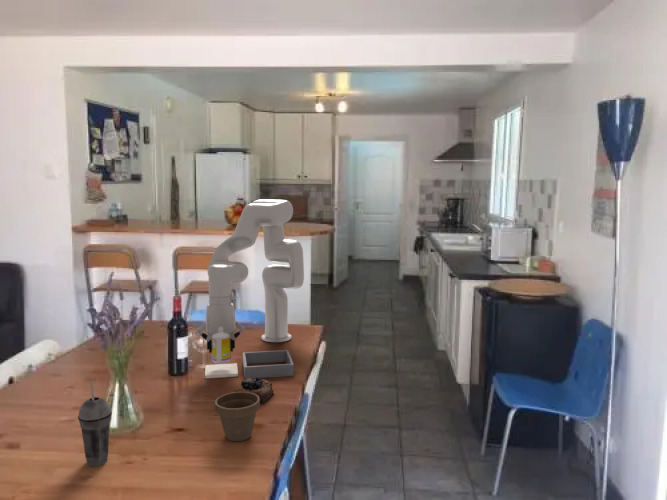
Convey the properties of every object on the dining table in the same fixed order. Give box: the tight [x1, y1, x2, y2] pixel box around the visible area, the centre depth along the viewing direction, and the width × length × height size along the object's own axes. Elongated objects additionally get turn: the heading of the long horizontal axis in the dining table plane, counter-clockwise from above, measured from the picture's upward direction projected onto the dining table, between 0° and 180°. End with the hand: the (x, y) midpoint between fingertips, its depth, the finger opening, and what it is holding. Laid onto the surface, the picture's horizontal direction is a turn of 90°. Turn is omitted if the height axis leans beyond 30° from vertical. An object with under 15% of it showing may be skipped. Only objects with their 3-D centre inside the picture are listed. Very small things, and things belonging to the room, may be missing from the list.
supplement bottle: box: [210, 327, 232, 364], centre depth 192 cm, size 7×7×13 cm
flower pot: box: [214, 391, 261, 442], centre depth 143 cm, size 12×11×10 cm
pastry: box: [233, 377, 275, 406], centre depth 170 cm, size 11×12×6 cm
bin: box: [242, 349, 295, 380], centre depth 196 cm, size 17×17×4 cm
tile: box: [204, 362, 239, 379], centre depth 193 cm, size 11×11×1 cm
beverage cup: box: [77, 381, 113, 468], centre depth 129 cm, size 7×7×20 cm
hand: (221, 350), depth 192 cm, fingers closed on supplement bottle, 6 cm apart
